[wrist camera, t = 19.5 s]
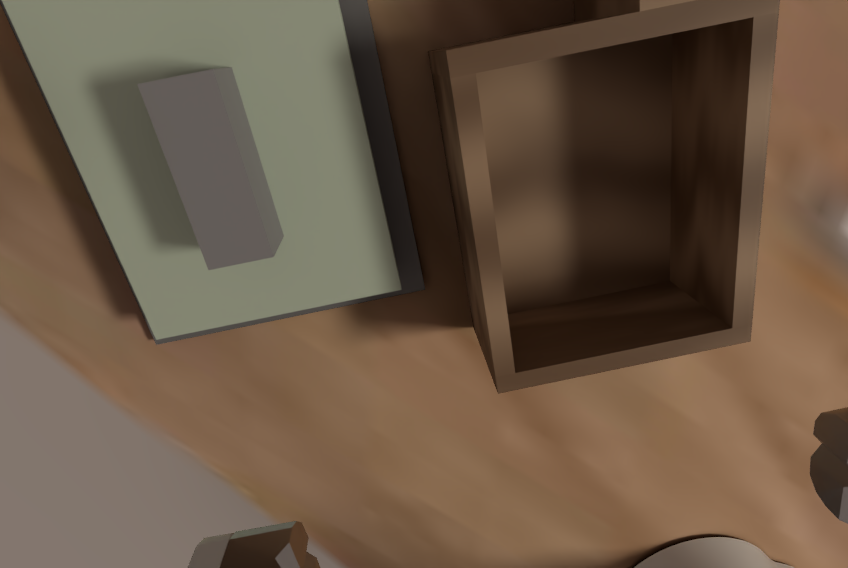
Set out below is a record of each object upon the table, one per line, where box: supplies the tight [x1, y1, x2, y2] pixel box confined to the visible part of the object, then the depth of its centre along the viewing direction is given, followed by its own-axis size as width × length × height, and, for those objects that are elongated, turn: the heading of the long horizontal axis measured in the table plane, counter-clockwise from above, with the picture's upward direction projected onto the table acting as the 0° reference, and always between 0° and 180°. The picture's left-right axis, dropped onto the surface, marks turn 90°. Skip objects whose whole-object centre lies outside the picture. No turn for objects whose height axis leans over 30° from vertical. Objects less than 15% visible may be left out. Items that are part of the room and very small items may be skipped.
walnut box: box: [428, 0, 780, 394], centre depth 24 cm, size 22×14×9 cm, turn 10°
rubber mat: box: [0, 0, 425, 345], centre depth 27 cm, size 19×16×1 cm
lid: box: [2, 0, 402, 340], centre depth 24 cm, size 16×13×5 cm
